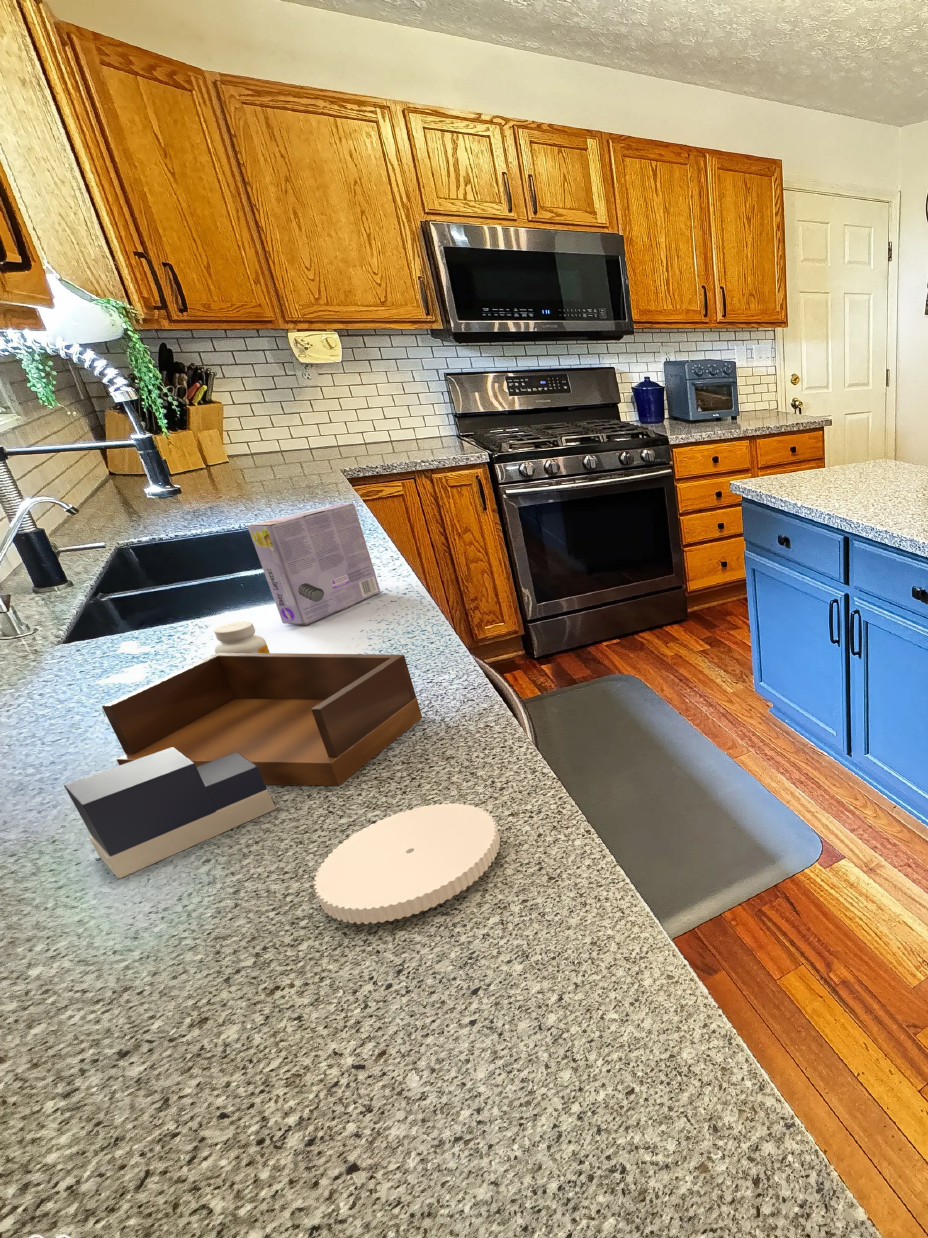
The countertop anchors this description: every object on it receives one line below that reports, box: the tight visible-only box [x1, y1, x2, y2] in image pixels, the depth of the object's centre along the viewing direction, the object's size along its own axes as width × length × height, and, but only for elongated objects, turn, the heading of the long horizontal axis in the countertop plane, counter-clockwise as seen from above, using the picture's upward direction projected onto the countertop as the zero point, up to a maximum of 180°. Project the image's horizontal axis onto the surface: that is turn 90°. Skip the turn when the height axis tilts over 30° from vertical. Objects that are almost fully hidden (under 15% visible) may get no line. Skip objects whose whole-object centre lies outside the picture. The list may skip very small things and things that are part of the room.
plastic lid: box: [313, 802, 501, 925], centre depth 62 cm, size 14×14×2 cm
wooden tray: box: [101, 652, 423, 787], centre depth 81 cm, size 24×15×9 cm, turn 88°
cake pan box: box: [247, 502, 381, 626], centre depth 124 cm, size 19×5×18 cm, turn 174°
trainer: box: [63, 747, 277, 880], centre depth 67 cm, size 12×6×8 cm, turn 148°
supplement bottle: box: [213, 620, 270, 654], centre depth 95 cm, size 5×5×10 cm
